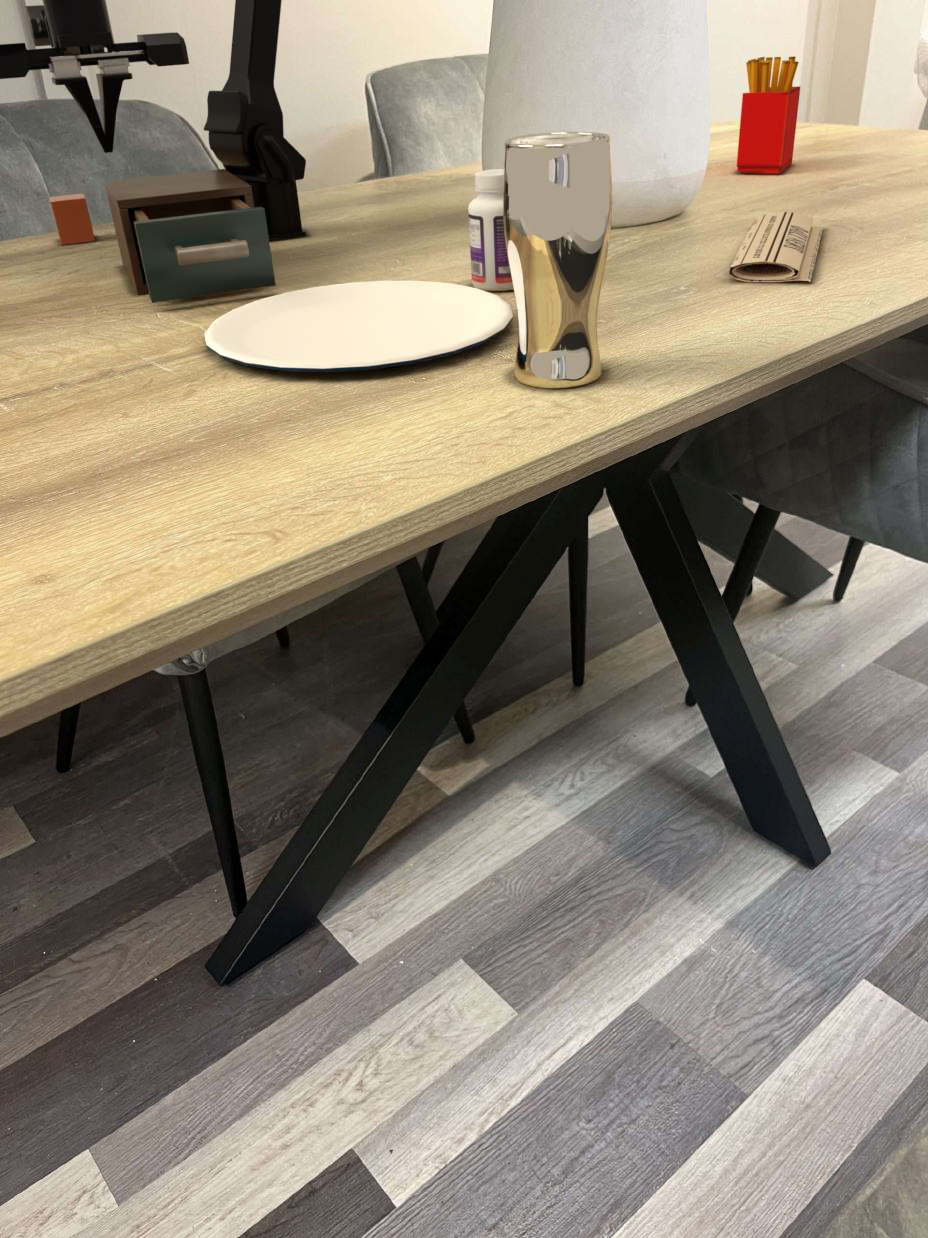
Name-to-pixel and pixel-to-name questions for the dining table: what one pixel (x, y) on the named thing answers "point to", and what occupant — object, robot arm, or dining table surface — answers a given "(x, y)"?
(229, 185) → the cabinet
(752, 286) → the dining table surface
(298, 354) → the plate
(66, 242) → the block
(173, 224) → the drawer
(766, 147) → the french fries container
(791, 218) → the newspaper
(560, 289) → the beer glass
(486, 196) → the pill bottle
